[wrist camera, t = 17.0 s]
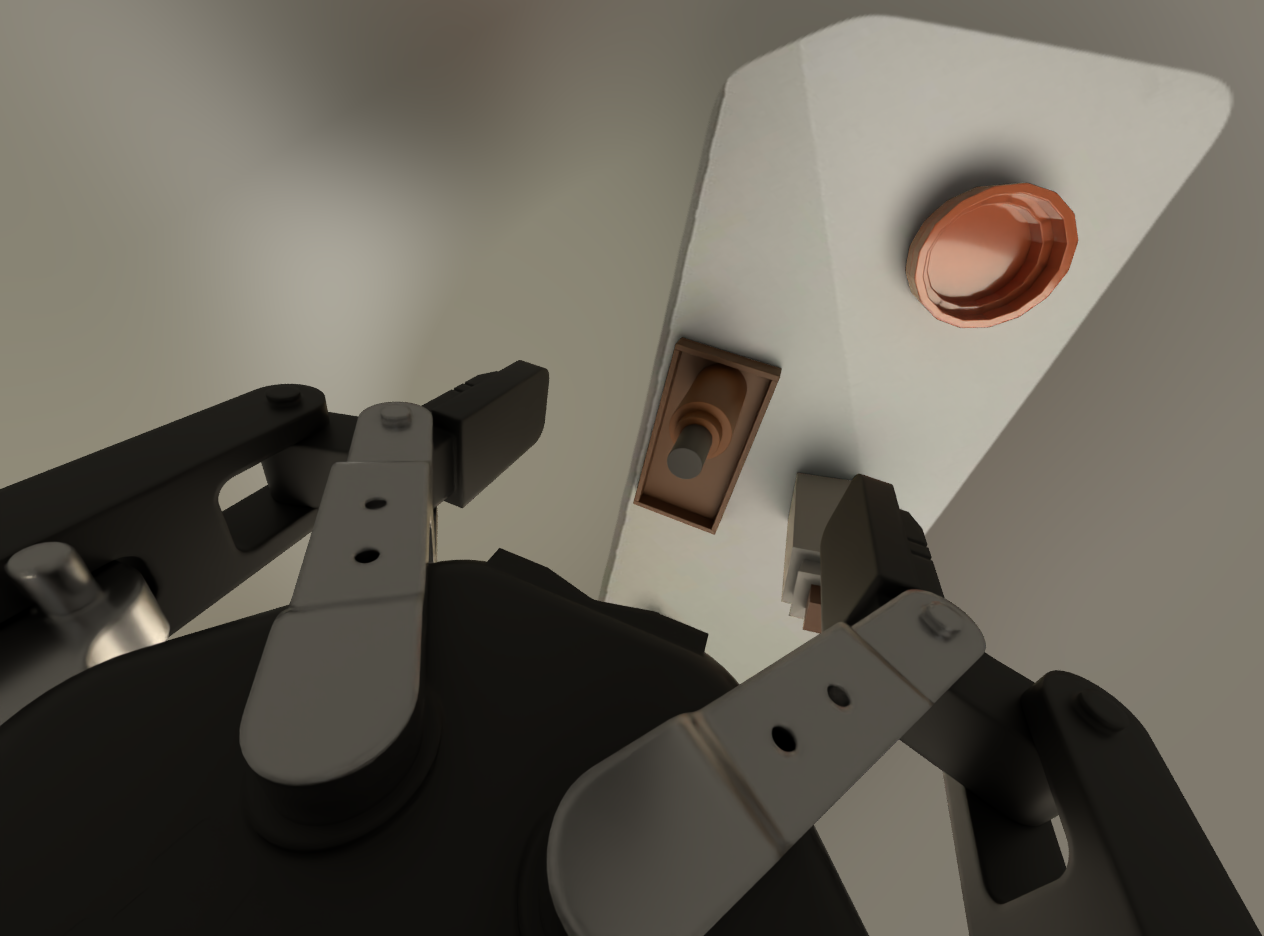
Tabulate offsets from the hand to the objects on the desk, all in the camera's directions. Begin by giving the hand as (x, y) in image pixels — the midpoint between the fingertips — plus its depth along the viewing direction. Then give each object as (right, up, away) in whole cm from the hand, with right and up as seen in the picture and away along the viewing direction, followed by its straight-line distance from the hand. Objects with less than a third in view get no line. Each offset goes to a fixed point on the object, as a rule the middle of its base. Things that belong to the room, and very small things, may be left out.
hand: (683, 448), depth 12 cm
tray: (+7, +3, +42) cm, 43 cm away
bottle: (+8, +8, +38) cm, 40 cm away
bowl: (+27, +17, +26) cm, 41 cm away
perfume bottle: (+21, -4, +41) cm, 46 cm away
